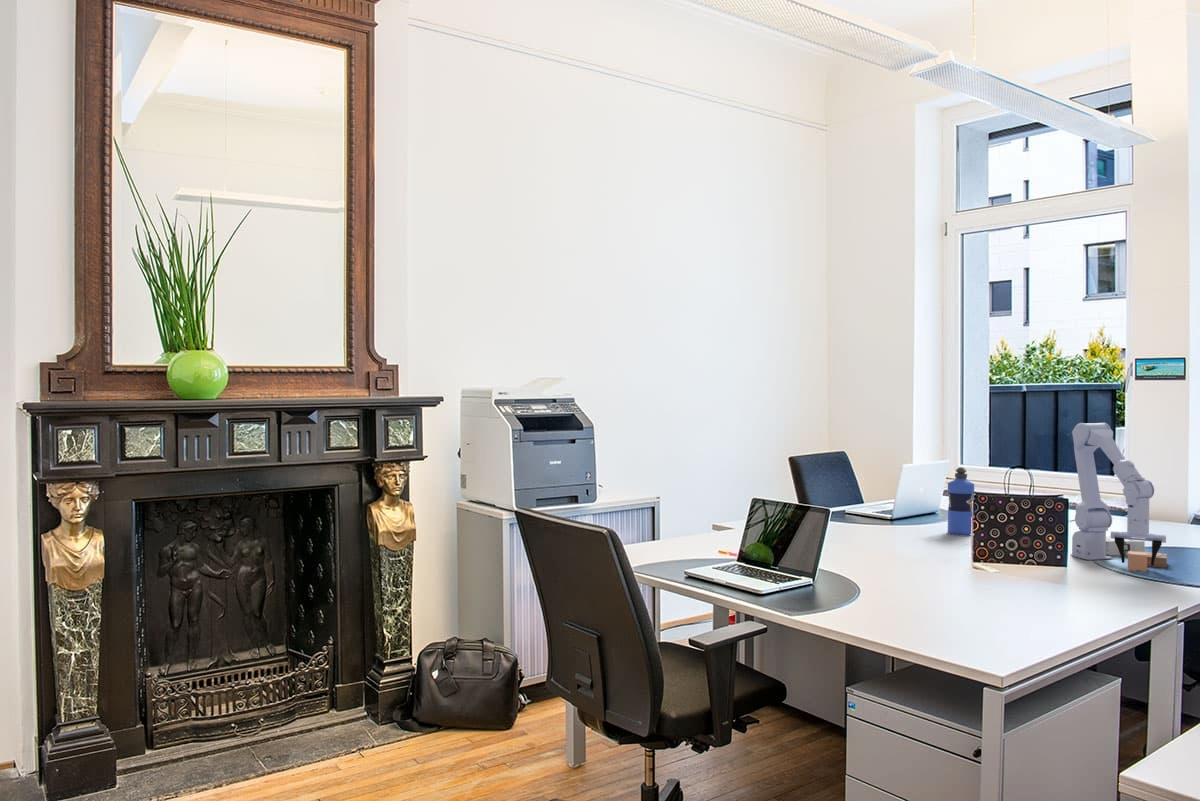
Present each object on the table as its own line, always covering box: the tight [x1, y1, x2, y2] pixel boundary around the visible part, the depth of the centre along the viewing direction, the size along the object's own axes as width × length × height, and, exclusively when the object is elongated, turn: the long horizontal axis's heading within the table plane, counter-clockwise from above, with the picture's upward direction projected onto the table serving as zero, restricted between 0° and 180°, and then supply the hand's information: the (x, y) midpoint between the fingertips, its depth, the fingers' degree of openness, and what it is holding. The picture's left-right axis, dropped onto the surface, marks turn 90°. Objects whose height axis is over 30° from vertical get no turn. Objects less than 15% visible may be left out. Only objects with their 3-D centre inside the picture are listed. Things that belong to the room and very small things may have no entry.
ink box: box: [1106, 536, 1146, 556], centre depth 296 cm, size 9×5×15 cm
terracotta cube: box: [1127, 551, 1148, 572], centre depth 271 cm, size 5×5×5 cm
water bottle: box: [947, 467, 975, 537], centre depth 333 cm, size 9×9×25 cm
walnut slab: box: [1137, 551, 1168, 569], centre depth 278 cm, size 8×8×3 cm
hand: (1137, 563), depth 271 cm, fingers open, 7 cm apart
